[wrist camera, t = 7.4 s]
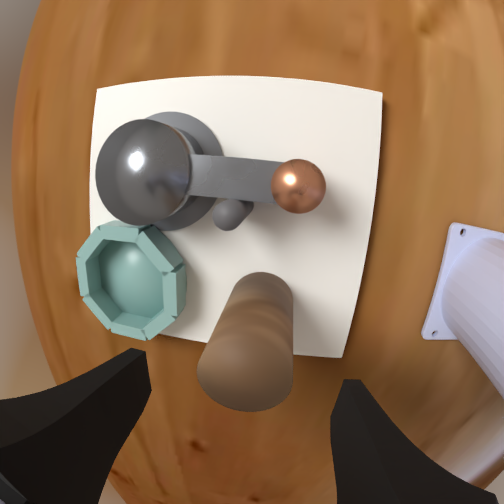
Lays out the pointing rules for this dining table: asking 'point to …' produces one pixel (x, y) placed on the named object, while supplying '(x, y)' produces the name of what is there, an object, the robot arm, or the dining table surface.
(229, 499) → the dining table surface
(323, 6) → the dining table surface
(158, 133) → the grey ball-ended lever
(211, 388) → the pin
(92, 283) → the socket
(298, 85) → the board
